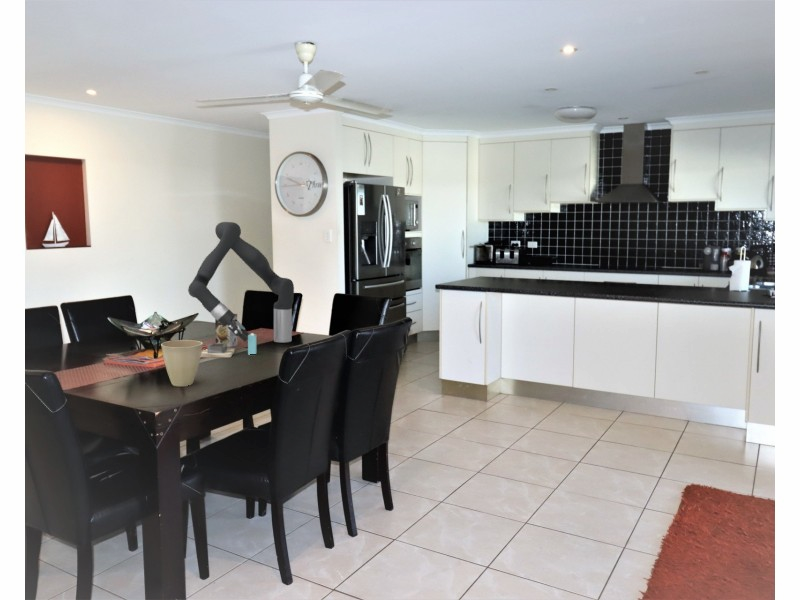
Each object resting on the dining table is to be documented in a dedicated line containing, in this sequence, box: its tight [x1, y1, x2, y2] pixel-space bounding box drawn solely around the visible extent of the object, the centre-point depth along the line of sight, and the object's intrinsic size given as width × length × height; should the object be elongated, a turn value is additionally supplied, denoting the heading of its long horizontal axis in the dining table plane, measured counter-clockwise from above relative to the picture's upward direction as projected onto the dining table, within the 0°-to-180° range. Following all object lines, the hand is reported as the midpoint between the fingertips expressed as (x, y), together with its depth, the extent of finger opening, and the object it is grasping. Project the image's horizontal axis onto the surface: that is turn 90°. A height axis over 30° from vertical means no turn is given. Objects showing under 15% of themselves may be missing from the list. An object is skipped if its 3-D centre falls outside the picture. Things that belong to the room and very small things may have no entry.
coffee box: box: [214, 313, 238, 348], centre depth 310 cm, size 9×6×16 cm
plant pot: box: [160, 339, 203, 387], centre depth 237 cm, size 15×15×16 cm
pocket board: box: [200, 343, 236, 358], centre depth 291 cm, size 14×14×4 cm
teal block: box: [247, 332, 258, 356], centre depth 292 cm, size 4×4×10 cm
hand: (247, 338), depth 292 cm, fingers open, 8 cm apart
